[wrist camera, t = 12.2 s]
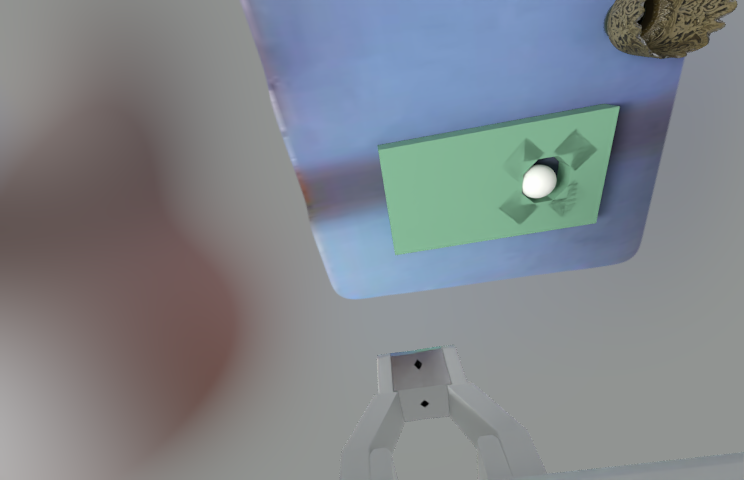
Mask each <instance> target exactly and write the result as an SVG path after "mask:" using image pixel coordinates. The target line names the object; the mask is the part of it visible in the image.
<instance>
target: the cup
mask: <svg viewBox="0 0 744 480" xmlns="http://www.w3.org/2000/svg"><path fill="white" fill-rule="evenodd" d="M736 7H737V1H735V0H616V1H615V3H614V4H613V5H612V6H611V7H610V9H609V10H608V12H607V14H606V16H605V19H604V31H605V33H606V35H607V36H608V37H609V39H610V41H611V43H612V44H613V45H614V46H615V47H616V48H617V49H618V50H620V51H622V52H624V53H627V54H632V55H637V56H644V57H653V58H660V59H662V58H670V57H672V58H681V57H685V56H686V55H687V53H689V52H693V51H696V50H698V49H700V48H702V47H704V46H706V45H707V44H708V43H709V36H710V34H711V33H712V32H715V31H718V30H720V29H722V28H723V27H725V25H726V24H725V22H723V21H721V20H719V19H720V18H722V17H724V16H726V15H728V14H730V13H731V12H733V10H735V8H736ZM717 19H718V21H717Z"/></svg>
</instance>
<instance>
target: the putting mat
mask: <svg viewBox="0 0 744 480" xmlns="http://www.w3.org/2000/svg"><path fill="white" fill-rule="evenodd" d="M619 108H620V106H615V105H608V104H601V105H595V106H590V107H584V108H579V109H573V110H568V111H562V112H557V113H551V114H546V115H541V116H535V117H530V118H524V119H519V120H513V121H508V122H502V123H497V124H491V125H486V126H481V127H475V128H470V129H464V130H459V131H453V132H448V133H442V134H437V135H431V136H426V137H421V138H415V139H410V140H404V141H399V142H393V143H388V144H382V145H378V151H379V157H380V163H381V170H382V176H383V182H384V188H385V194H386V201H387V207H388V213H389V219H390V225H391V232H392V238H393V244H394V250H395V255H399V254H405V253H412V252H418V251H424V250H430V249H437V248H443V247H449V246H455V245H462V244H468V243H474V242H480V241H487V240H493V239H499V238H505V237H512V236H518V235H524V234H530V233H537V232H543V231H549V230H555V229H562V228H568V227H574V226H580V225H587V224H593V223H596V221H597V216H598V211H599V206H600V201H601V196H602V191H603V186H604V181H605V177H606V172H607V167H608V162H609V157H610V152H611V147H612V142H613V137H614V133H615V128H616V123H617V118H618V113H619ZM548 157H555V158H556V159H557V160H558V161H559V166H558V174H557V182H556V186H555V188H554V189H553V191H552V192H551V193H550V194H548V195H547V196H545V197H542V198H530V197H528V196H524V195H523V194H522V183H523V175H524V174H525V173H526V172H527V171H528V169H529V168H530V167H531V166H532V165H533V164H534V163H535V162H536V161H537V160H538V159H543V158H548Z"/></svg>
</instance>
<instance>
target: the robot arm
mask: <svg viewBox="0 0 744 480" xmlns="http://www.w3.org/2000/svg"><path fill="white" fill-rule="evenodd" d="M377 371H378V394H375V395H374V396H373V398H372V400H371V402H370V403H369V405H368V407H367V409H366V410H365V412H364V414H363V416H362V417H361V419H360V420H359V422H358V424H357V426H356V427H355V429H354V431H353V432H352V434H351V436H350V438H349V439H348V441H347V443H346V445H345V446H344V448H343V450H342V451H341V467H340V480H398V478H397V474H396V470H395V466H394V462H393V458H392V454H393V451H394V449H395V447H396V444H397V442H398V439H399V437H400V434H401V432H402V429H403V427H404V422H409V421H416V420H422V419H430V418H440V417H450V418H451V419H452V420H453V421H454V423H455V424H456V425H457V426H458V427H459V429H460V430H461V431H462V432H463V433H464V434H465V436H466V437H467V438H468V439H469V440H470V442H471V443H472V444H473V445H474V446H475V447H476V449H477V479H478V480H744V452H741V453H732V454H723V455H713V456H704V457H695V458H687V459H677V460H669V461H660V462H650V463H641V464H632V465H624V466H615V467H605V468H596V469H587V470H578V471H569V472H560V473H551V474H547V472H546V470H545V468H544V465H543V463H542V461H541V459H540V457H539V455H538V453H537V450H536V448H535V446H534V443H533V441H532V439H531V437H530V435H529V432H528V431H527V429H526V428H525V427H523V426H522V425H521V424H520V423H519V422H518V421H517V420H515V419H514V418H513V417H512V416H511V415H510V414H508V413H507V412H506V411H505V410H504V409H502V408H501V407H500V406H499V405H498V404H497V403H496V402H494V401H493V400H492V399H491V398H490V397H489V396H487V395H486V394H485V393H484V392H483V391H482V390H480V389H479V388H478V387H477V386H476V385H475V384H473V383H472V382H467V379H466V376H465V373H464V370H463V367H462V364H461V362H460V359H459V355H458V352H457V349H456V347H455V345H448V346H441V347H440V346H439V347H432V348H426V349H419V350H415V351H407V352H399V353H390V354H381V355H377Z"/></svg>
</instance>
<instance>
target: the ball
mask: <svg viewBox="0 0 744 480" xmlns="http://www.w3.org/2000/svg"><path fill="white" fill-rule="evenodd" d="M556 182H557V178H556V174H555V172H554V171H553V170H552V169H551V168H550V167H548V166H546V165H533V166H531V167H530V168H529V169H528V171H527V172H526V173H525V174H524V175H523V183H522V193H523V194H525V195H526V196H528V197H530V198H542V197H545V196H547V195H548V194H550V193H551V192H552V191H553V189H554V188H555V186H556Z"/></svg>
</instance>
